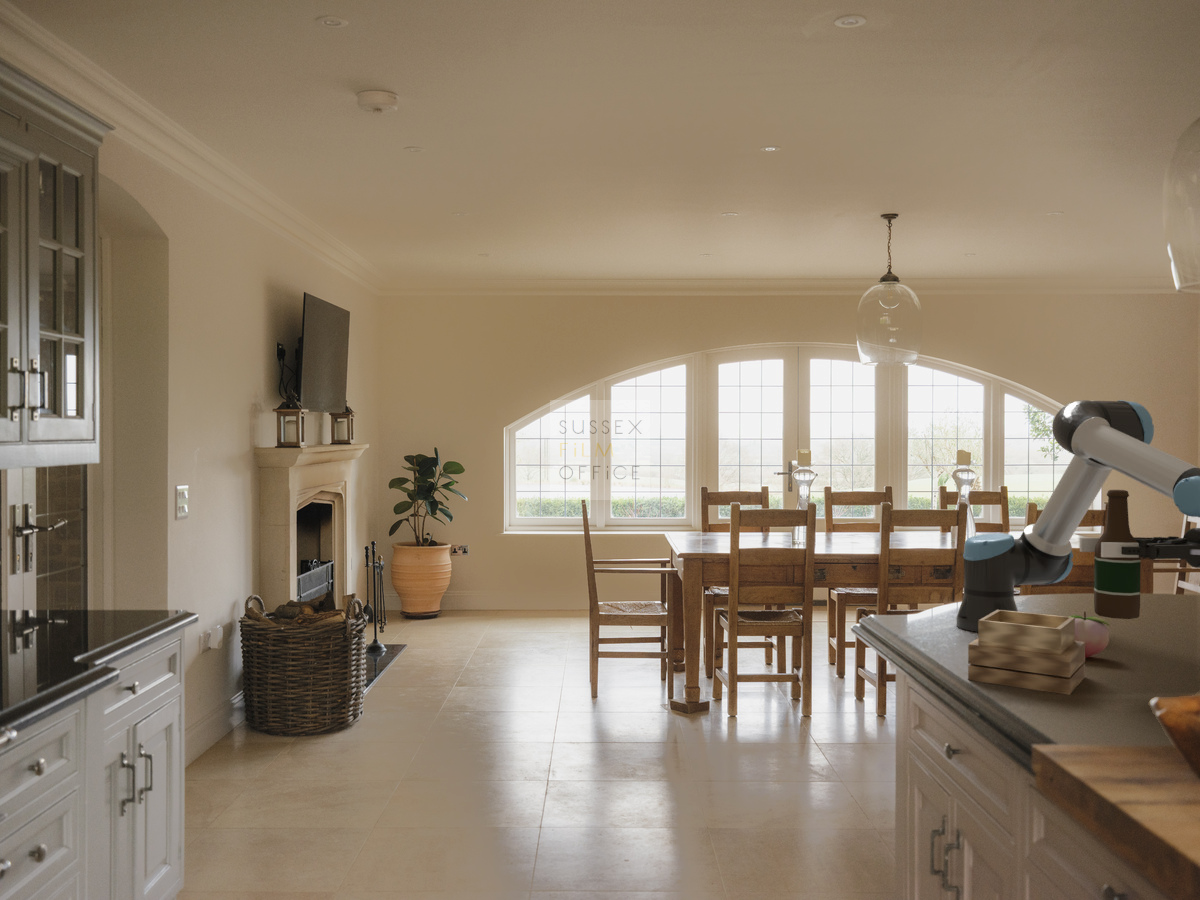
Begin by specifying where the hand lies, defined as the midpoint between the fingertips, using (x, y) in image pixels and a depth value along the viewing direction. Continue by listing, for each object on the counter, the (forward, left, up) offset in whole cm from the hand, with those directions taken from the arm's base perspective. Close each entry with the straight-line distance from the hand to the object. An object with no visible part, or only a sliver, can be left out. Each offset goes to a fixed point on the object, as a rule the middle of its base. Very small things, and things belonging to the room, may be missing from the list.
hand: (1091, 547), depth 175 cm
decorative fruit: (-5, +26, -27) cm, 38 cm away
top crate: (-11, -1, -20) cm, 23 cm away
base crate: (-11, -1, -27) cm, 29 cm away
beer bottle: (+4, +3, -13) cm, 14 cm away
